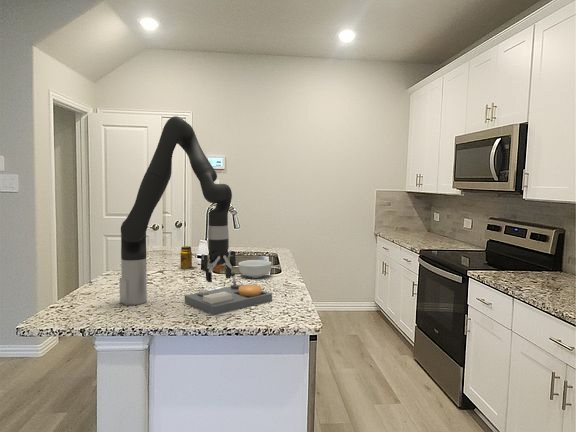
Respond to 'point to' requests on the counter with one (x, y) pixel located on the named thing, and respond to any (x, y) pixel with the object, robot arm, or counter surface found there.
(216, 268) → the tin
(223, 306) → the control panel
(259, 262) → the cereal bowl
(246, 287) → the orange button
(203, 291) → the grey button
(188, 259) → the condiment
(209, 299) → the key
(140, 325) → the counter surface
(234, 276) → the toggle lever
